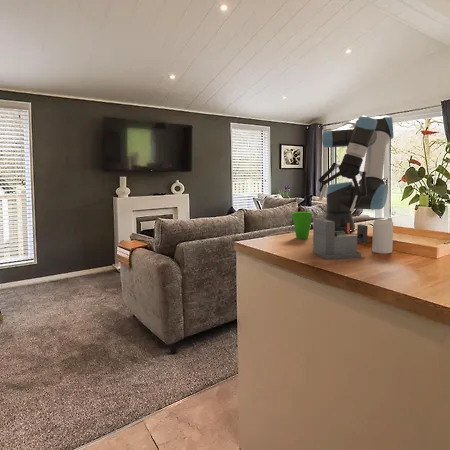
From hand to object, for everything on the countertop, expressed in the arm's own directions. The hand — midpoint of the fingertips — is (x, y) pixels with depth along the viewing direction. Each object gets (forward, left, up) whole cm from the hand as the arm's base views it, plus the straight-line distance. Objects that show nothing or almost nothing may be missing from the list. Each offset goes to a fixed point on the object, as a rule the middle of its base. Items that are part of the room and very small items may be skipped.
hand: (335, 205), depth 147 cm
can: (+10, +24, -15) cm, 30 cm away
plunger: (+20, +18, -12) cm, 29 cm away
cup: (+5, -13, -15) cm, 20 cm away
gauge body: (+24, +14, -15) cm, 32 cm away
